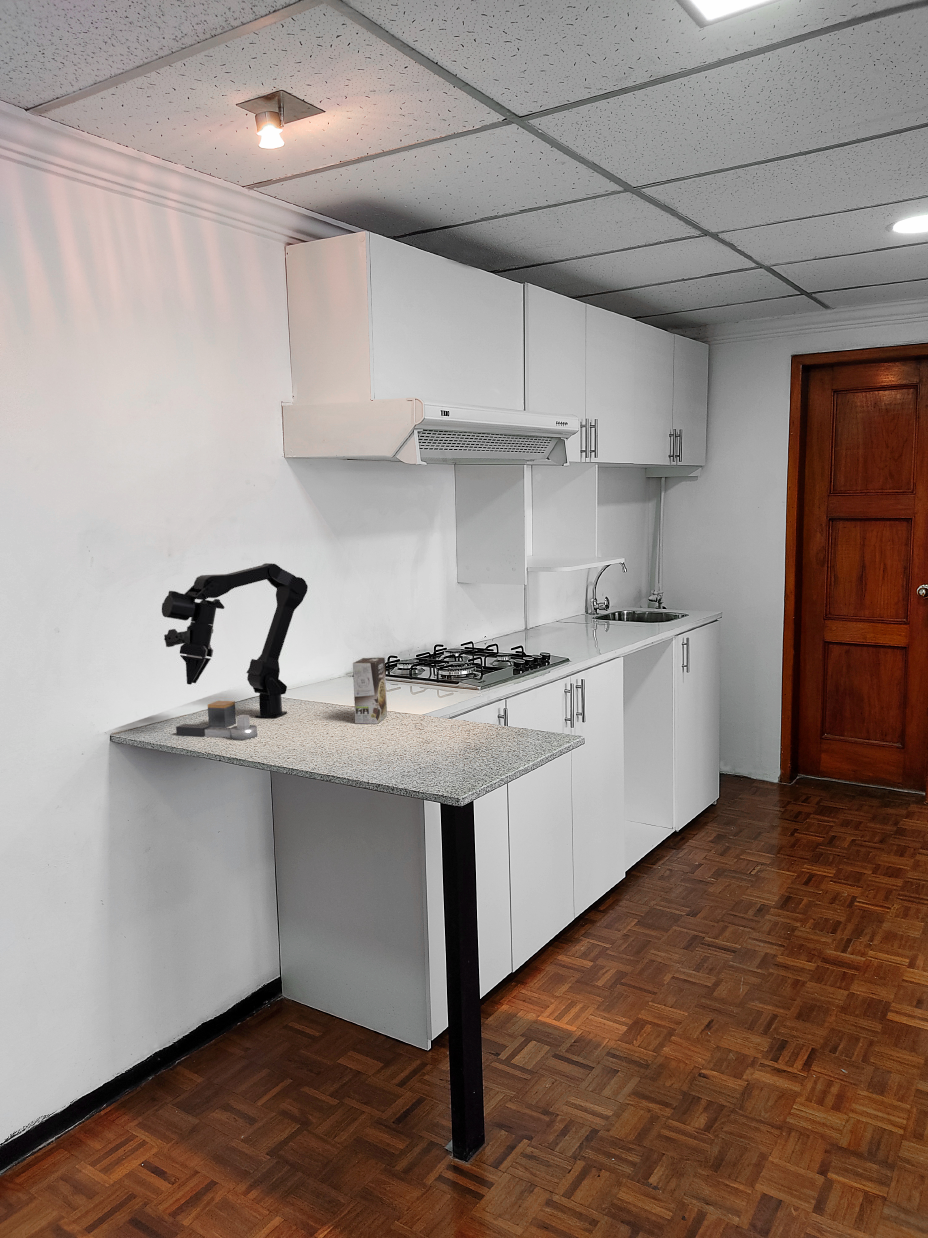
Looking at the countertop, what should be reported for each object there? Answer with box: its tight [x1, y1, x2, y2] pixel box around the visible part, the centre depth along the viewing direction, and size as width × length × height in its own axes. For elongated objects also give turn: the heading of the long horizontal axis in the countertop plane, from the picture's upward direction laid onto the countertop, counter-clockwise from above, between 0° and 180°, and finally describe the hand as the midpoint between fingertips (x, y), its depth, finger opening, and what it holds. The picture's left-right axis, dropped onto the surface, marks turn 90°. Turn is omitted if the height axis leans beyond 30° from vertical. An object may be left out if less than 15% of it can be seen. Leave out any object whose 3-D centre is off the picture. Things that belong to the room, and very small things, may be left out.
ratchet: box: [175, 714, 258, 741], centre depth 232 cm, size 6×22×5 cm, turn 71°
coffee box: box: [352, 657, 388, 725], centre depth 243 cm, size 9×6×16 cm
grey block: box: [207, 700, 237, 728], centre depth 243 cm, size 5×5×6 cm
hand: (191, 683), depth 237 cm, fingers open, 9 cm apart
